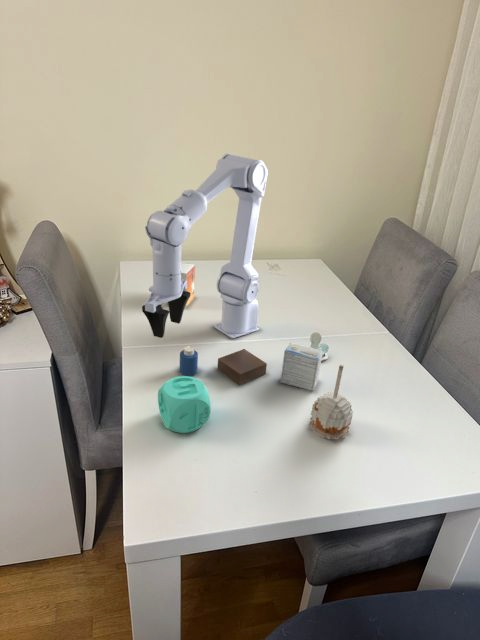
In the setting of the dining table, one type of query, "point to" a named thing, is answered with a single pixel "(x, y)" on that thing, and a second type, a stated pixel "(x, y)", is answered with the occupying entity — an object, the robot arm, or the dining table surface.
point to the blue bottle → (188, 361)
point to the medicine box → (301, 366)
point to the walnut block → (241, 366)
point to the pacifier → (315, 342)
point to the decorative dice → (184, 404)
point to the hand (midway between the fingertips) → (167, 329)
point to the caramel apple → (331, 413)
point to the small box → (188, 279)
